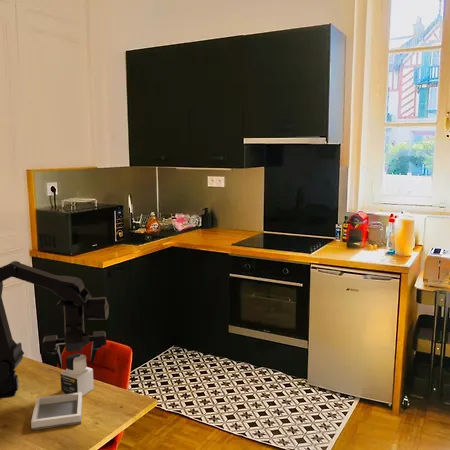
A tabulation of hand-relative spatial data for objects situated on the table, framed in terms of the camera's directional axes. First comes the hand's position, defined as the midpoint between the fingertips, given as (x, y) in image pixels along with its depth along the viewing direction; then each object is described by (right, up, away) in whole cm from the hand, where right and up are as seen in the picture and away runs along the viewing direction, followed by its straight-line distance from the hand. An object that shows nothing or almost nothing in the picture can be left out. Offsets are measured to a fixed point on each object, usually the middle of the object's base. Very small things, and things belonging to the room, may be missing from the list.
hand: (76, 366), depth 151 cm
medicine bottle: (0, -9, +2) cm, 9 cm away
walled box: (-2, -11, -11) cm, 16 cm away
